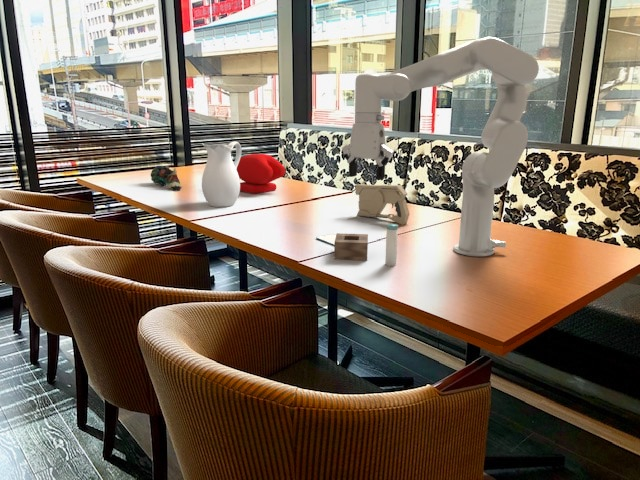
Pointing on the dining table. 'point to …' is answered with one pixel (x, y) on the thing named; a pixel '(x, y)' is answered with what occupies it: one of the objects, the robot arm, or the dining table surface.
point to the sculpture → (166, 177)
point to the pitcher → (221, 175)
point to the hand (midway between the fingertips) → (366, 177)
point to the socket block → (351, 246)
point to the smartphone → (327, 239)
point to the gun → (382, 201)
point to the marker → (391, 244)
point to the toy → (259, 172)
